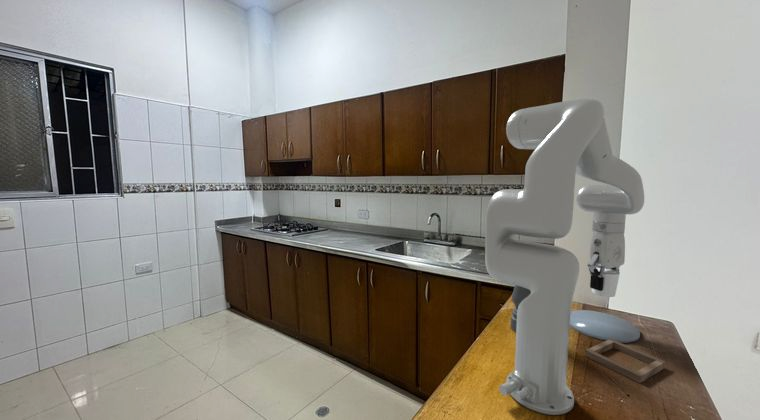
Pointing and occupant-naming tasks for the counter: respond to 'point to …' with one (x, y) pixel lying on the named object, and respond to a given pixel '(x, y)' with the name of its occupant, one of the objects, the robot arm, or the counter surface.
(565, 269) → the robot arm
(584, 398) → the counter surface
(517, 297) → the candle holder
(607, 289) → the shot glass
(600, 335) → the plate
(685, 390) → the counter surface
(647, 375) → the pocket frame
